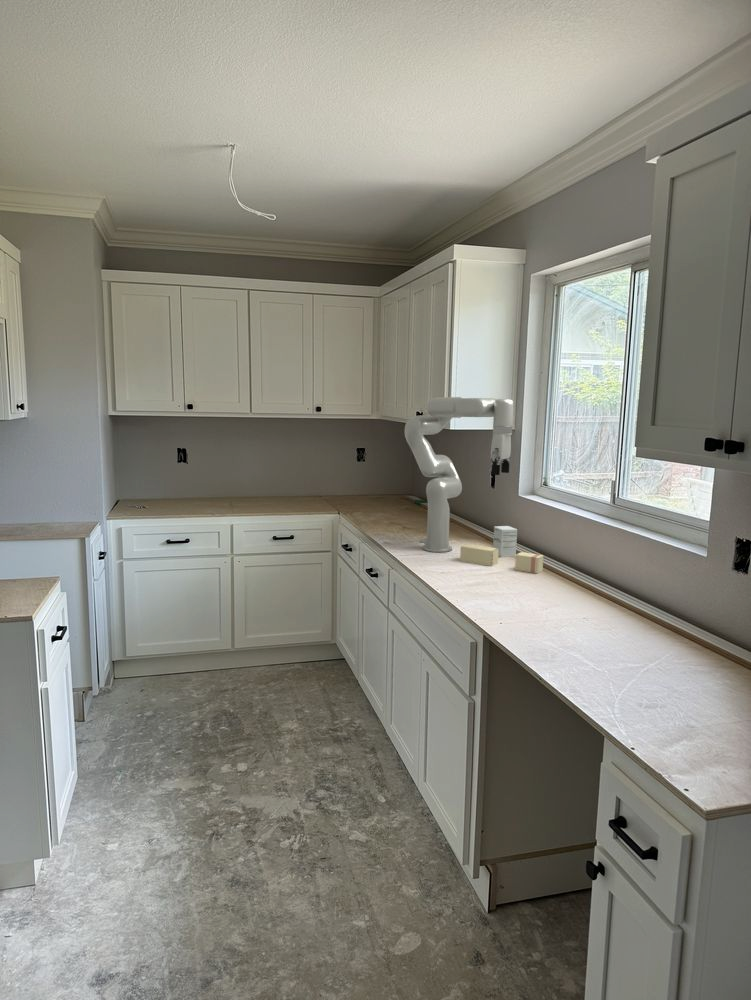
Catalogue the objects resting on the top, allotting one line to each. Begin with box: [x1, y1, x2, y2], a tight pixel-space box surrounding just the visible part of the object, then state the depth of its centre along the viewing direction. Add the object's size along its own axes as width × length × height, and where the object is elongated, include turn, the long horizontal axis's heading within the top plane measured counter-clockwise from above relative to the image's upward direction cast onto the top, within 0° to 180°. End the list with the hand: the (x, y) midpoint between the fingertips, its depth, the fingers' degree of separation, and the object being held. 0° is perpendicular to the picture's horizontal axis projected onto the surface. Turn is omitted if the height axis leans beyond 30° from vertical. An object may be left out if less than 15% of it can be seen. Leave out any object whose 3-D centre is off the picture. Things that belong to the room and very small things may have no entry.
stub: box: [514, 551, 544, 574], centre depth 260 cm, size 9×6×6 cm, turn 57°
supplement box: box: [492, 525, 518, 558], centre depth 284 cm, size 7×7×13 cm
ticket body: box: [459, 543, 499, 567], centre depth 271 cm, size 14×6×6 cm, turn 57°
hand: (500, 473), depth 269 cm, fingers open, 9 cm apart
